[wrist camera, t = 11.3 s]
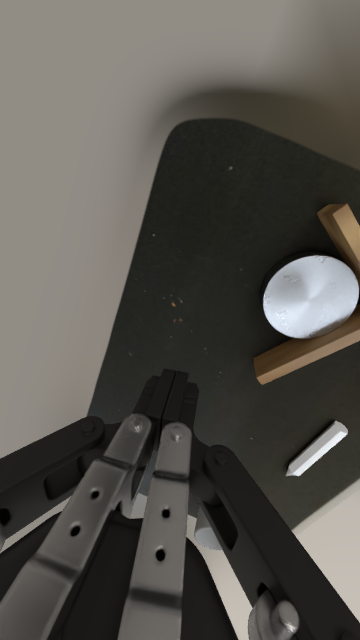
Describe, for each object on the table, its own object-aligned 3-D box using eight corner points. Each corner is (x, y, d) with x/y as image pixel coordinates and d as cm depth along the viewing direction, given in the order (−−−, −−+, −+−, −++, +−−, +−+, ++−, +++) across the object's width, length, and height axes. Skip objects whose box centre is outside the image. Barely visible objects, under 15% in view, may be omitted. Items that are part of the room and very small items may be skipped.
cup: (192, 492, 56) (186, 536, 48) (218, 473, 52) (217, 519, 44) (218, 508, 57) (217, 554, 49) (247, 491, 52) (250, 539, 45)
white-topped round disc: (245, 283, 34) (246, 290, 31) (323, 232, 30) (333, 235, 27) (285, 341, 36) (289, 351, 34) (363, 302, 32) (375, 310, 29)
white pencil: (282, 467, 48) (335, 418, 41) (292, 476, 48) (348, 428, 40) (279, 476, 46) (334, 426, 39) (288, 486, 46) (347, 436, 38)
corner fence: (202, 292, 35) (198, 304, 31) (328, 204, 28) (347, 203, 24) (258, 364, 39) (261, 385, 34) (383, 302, 32) (409, 318, 27)
